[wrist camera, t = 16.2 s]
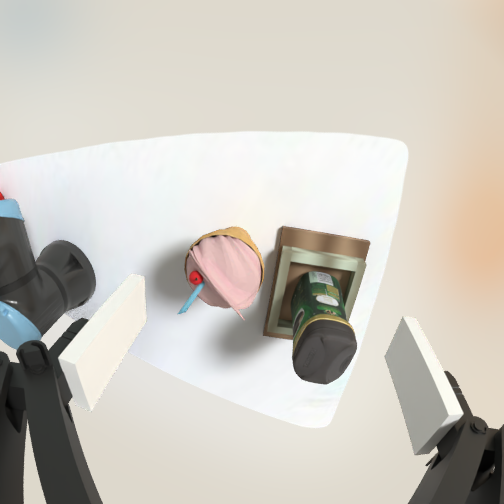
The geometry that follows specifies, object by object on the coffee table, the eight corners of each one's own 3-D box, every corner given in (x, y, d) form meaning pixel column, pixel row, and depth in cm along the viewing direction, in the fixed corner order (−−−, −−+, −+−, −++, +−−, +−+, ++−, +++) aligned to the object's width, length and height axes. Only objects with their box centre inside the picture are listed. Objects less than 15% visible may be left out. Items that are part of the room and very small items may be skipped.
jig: (263, 332, 60) (262, 343, 57) (282, 225, 51) (282, 232, 48) (336, 342, 59) (339, 353, 56) (368, 240, 51) (374, 248, 47)
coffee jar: (325, 320, 56) (337, 393, 39) (285, 310, 56) (284, 384, 39) (345, 276, 53) (369, 343, 35) (303, 264, 52) (310, 330, 35)
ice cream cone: (238, 279, 56) (217, 353, 38) (192, 239, 54) (148, 298, 35) (282, 239, 52) (280, 304, 34) (234, 194, 50) (205, 237, 32)
